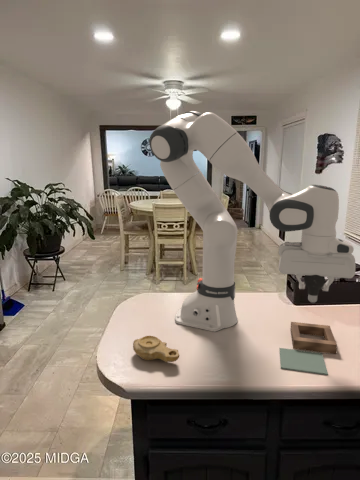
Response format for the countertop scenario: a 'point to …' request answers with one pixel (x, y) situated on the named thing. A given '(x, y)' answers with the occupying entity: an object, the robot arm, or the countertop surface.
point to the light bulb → (314, 286)
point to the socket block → (313, 344)
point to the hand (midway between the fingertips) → (313, 289)
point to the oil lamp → (154, 349)
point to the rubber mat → (302, 361)
